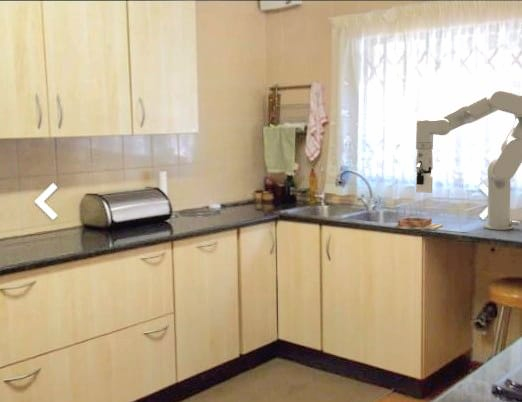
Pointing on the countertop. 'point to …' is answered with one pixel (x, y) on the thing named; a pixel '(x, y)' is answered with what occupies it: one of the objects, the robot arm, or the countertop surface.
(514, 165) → the robot arm
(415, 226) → the dock board
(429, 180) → the medicine bottle
